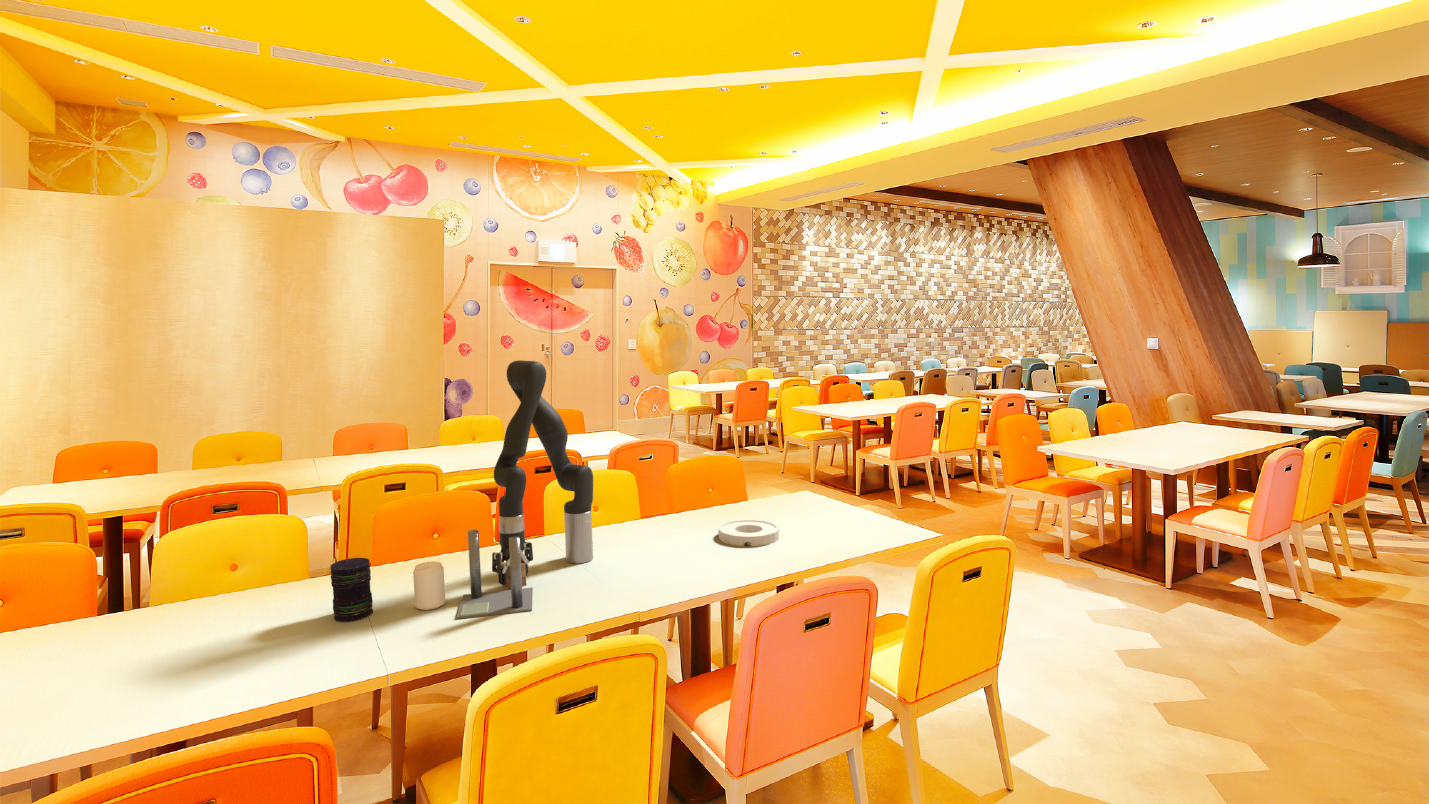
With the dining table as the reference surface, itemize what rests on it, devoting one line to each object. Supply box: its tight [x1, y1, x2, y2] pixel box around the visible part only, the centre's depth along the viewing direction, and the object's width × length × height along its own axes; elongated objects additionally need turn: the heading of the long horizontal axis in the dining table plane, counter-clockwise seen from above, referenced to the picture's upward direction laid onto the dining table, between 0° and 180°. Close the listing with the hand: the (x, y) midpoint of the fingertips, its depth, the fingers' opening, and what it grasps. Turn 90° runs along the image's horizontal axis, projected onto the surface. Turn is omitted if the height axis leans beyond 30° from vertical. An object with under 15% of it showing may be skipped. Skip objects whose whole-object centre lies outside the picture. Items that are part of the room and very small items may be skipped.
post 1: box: [467, 529, 483, 599], centre depth 199 cm, size 3×3×20 cm
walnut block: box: [501, 563, 527, 590], centre depth 210 cm, size 5×5×7 cm
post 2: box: [509, 536, 523, 609], centre depth 192 cm, size 3×3×20 cm
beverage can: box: [412, 560, 446, 611], centre depth 195 cm, size 8×8×12 cm
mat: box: [456, 587, 534, 620], centre depth 197 cm, size 17×20×1 cm
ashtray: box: [717, 519, 780, 547], centre depth 258 cm, size 23×23×4 cm
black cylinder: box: [329, 557, 374, 623], centre depth 189 cm, size 10×10×15 cm
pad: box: [461, 603, 488, 614], centre depth 191 cm, size 7×7×1 cm
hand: (513, 580), depth 210 cm, fingers open, 8 cm apart
